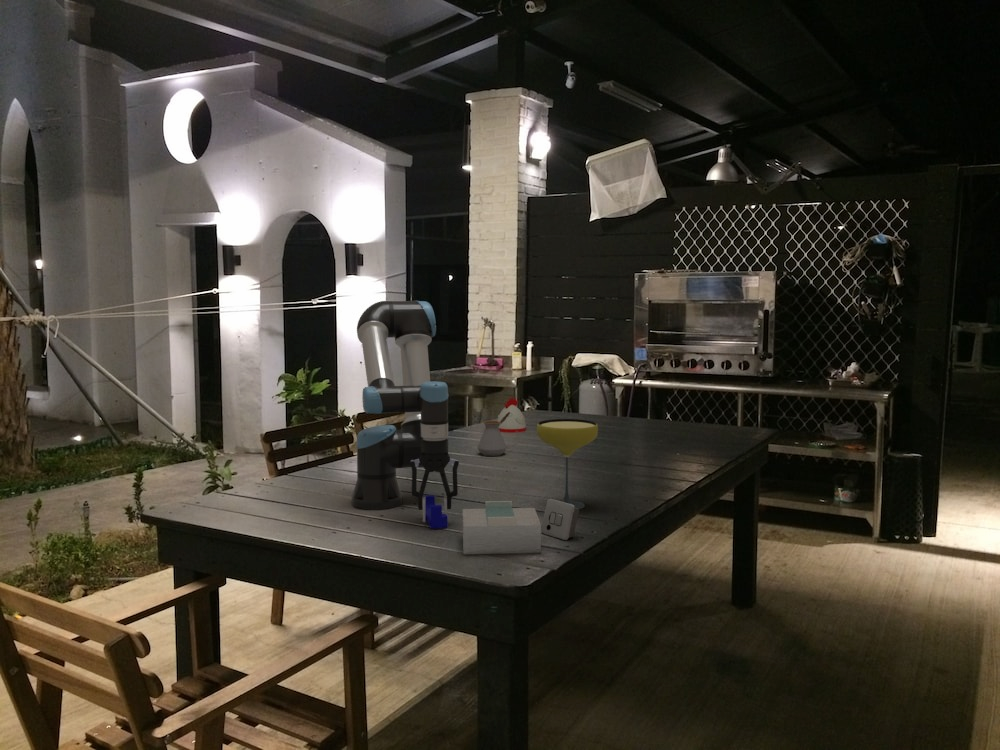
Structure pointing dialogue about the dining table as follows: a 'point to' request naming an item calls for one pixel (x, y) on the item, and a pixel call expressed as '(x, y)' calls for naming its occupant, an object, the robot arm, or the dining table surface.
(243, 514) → the dining table surface
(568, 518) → the electrical switch
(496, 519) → the white boxy block
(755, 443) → the dining table surface
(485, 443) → the coffee pot
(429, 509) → the blue stepped piece
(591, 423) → the cocktail glass
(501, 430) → the kitchen timer
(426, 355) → the robot arm
